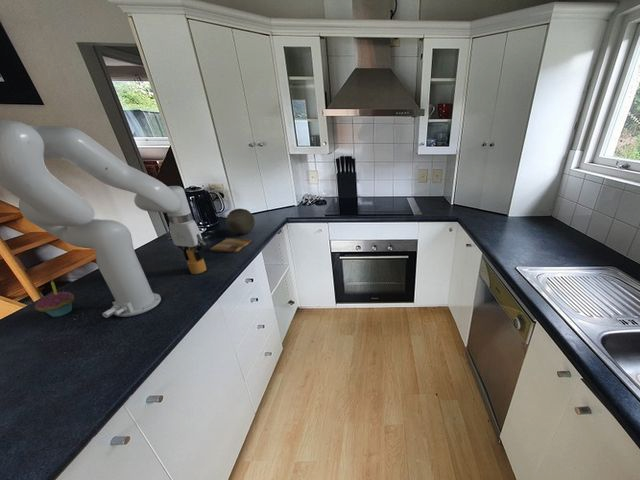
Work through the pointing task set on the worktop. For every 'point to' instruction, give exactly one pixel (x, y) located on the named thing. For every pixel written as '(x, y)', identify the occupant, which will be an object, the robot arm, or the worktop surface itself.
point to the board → (230, 245)
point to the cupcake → (55, 303)
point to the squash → (195, 262)
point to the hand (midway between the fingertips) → (194, 258)
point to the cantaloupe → (240, 221)
